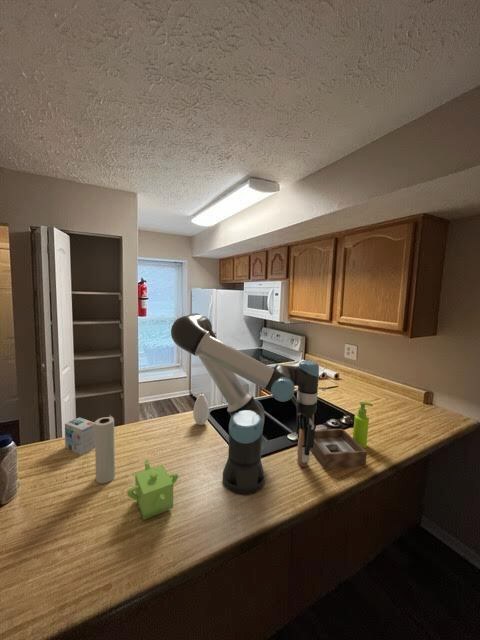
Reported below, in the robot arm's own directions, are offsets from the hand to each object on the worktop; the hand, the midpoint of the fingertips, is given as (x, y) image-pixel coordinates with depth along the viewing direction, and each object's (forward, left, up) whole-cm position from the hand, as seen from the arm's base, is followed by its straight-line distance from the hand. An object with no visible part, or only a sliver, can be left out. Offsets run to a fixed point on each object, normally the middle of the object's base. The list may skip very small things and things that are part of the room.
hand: (302, 457), depth 108 cm
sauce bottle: (-39, +36, -3) cm, 53 cm away
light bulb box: (-89, +21, -3) cm, 91 cm away
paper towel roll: (-73, +1, -3) cm, 73 cm away
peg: (0, 0, -3) cm, 3 cm away
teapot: (-55, -14, -3) cm, 57 cm away
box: (+16, +5, -3) cm, 17 cm away
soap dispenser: (+32, +10, -3) cm, 34 cm away
